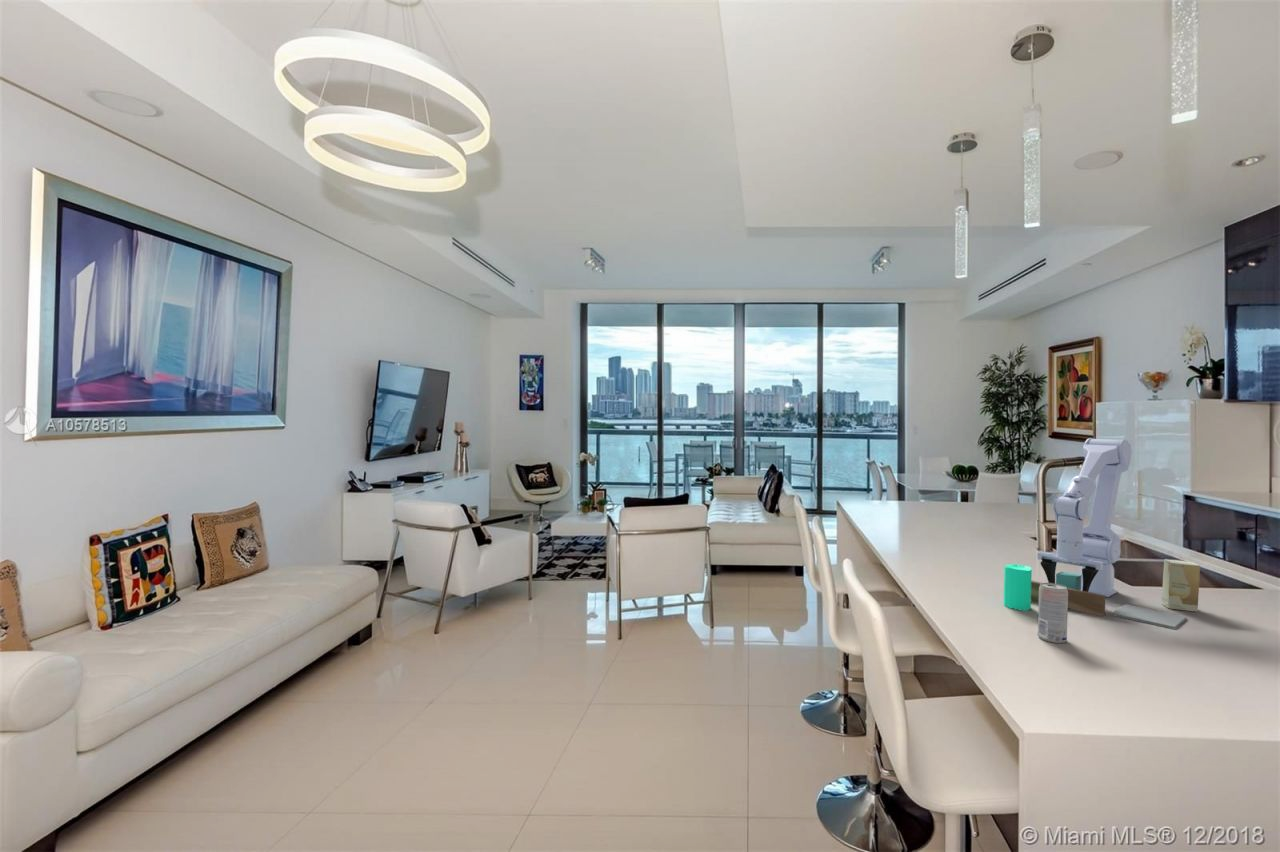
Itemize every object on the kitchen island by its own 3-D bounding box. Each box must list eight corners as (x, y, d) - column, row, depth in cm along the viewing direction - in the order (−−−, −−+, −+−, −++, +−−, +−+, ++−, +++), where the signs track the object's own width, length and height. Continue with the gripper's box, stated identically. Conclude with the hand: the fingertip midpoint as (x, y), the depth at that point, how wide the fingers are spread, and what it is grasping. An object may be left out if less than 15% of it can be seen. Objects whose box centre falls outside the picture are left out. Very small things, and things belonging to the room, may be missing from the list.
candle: (1022, 603, 158) (1024, 558, 158) (1035, 610, 152) (1036, 564, 152) (999, 602, 158) (1000, 557, 158) (1010, 609, 152) (1012, 563, 152)
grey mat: (1125, 606, 156) (1125, 604, 156) (1186, 619, 147) (1186, 616, 147) (1111, 615, 149) (1111, 612, 149) (1174, 629, 139) (1174, 626, 139)
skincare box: (1168, 609, 154) (1169, 562, 154) (1160, 604, 158) (1162, 558, 158) (1199, 612, 152) (1201, 565, 152) (1191, 607, 156) (1192, 561, 156)
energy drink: (1062, 636, 134) (1063, 583, 134) (1070, 645, 129) (1072, 590, 129) (1034, 633, 136) (1035, 581, 136) (1041, 641, 131) (1043, 587, 131)
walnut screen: (1016, 595, 165) (1017, 577, 165) (1105, 615, 149) (1105, 595, 149) (1014, 596, 164) (1014, 578, 164) (1103, 616, 148) (1103, 596, 148)
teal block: (1061, 596, 165) (1062, 571, 164) (1080, 600, 161) (1081, 575, 161) (1055, 599, 162) (1056, 573, 162) (1075, 603, 158) (1075, 577, 158)
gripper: (1033, 538, 164) (1032, 586, 165) (1097, 547, 153) (1096, 600, 153) (1043, 535, 169) (1042, 582, 169) (1106, 544, 157) (1104, 595, 157)
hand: (1068, 590), depth 161 cm, fingers open, 7 cm apart
